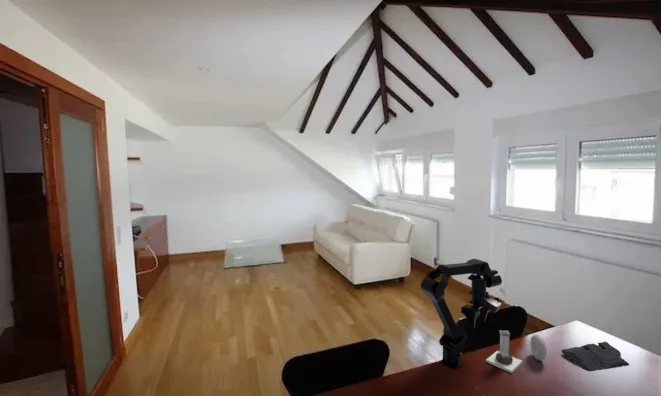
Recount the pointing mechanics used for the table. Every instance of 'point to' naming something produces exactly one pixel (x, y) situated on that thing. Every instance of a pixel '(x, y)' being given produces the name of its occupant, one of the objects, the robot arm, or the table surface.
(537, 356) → the donut
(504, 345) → the grey channel block
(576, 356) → the folded grey shirt
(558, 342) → the table surface
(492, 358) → the ceramic tile
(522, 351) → the table surface
